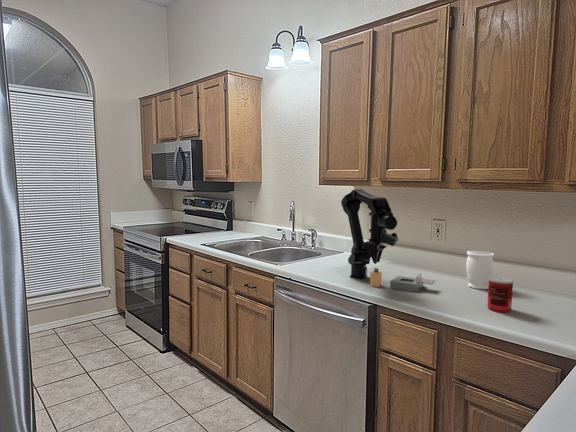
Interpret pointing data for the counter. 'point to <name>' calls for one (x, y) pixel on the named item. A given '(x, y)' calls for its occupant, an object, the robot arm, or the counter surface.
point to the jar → (479, 268)
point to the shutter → (423, 280)
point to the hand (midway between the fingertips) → (376, 262)
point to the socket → (405, 283)
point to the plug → (375, 278)
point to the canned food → (500, 294)
